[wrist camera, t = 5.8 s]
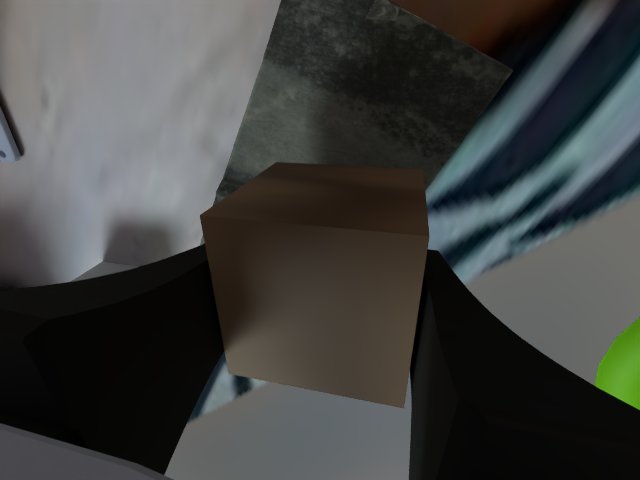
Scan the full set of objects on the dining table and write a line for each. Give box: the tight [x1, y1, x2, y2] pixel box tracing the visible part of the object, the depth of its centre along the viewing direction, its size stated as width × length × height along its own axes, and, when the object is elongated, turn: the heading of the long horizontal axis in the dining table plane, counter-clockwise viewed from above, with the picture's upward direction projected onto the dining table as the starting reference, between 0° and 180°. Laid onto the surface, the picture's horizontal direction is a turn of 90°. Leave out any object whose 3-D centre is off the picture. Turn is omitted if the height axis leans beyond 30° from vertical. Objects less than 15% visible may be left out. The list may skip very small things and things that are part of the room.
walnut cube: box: [200, 162, 429, 408], centre depth 10 cm, size 5×5×5 cm
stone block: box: [200, 0, 513, 245], centre depth 16 cm, size 9×14×5 cm, turn 154°
